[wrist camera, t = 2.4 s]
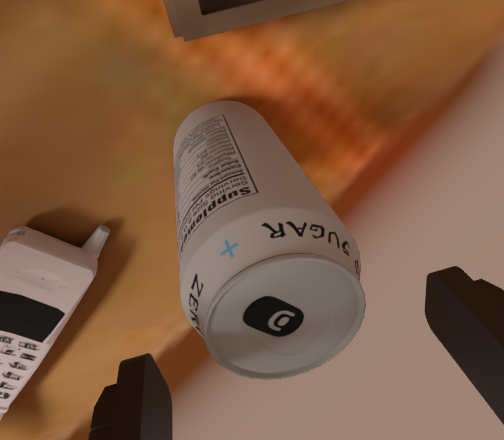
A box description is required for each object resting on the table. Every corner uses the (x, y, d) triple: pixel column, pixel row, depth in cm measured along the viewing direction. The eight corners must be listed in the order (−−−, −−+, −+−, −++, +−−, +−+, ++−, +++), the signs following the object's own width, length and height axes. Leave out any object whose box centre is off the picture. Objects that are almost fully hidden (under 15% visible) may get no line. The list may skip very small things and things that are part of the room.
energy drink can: (233, 204, 26) (297, 409, 13) (154, 159, 23) (140, 361, 11) (289, 132, 24) (424, 291, 12) (209, 74, 21) (272, 198, 9)
